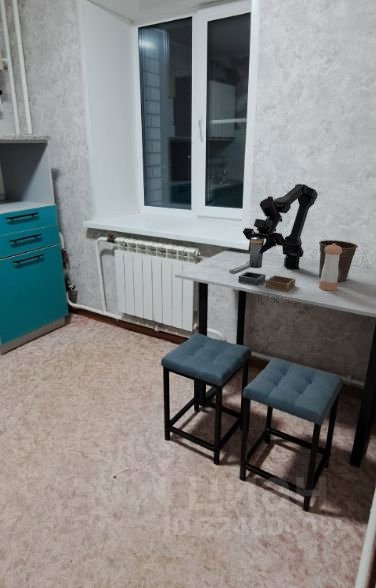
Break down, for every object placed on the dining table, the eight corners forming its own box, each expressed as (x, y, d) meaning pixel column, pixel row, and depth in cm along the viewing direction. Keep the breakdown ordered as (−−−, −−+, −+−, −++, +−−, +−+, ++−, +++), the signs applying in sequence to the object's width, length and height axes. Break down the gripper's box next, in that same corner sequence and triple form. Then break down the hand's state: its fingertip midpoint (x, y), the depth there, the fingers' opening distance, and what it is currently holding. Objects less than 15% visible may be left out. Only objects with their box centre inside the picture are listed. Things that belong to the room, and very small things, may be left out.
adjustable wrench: (232, 275, 187) (233, 271, 186) (222, 272, 191) (222, 268, 190) (262, 264, 204) (262, 261, 203) (252, 262, 208) (252, 259, 207)
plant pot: (354, 277, 185) (360, 242, 180) (348, 286, 172) (354, 249, 167) (319, 271, 193) (323, 238, 188) (310, 279, 180) (315, 244, 175)
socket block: (246, 276, 183) (247, 271, 182) (265, 280, 178) (265, 274, 177) (238, 281, 175) (238, 276, 174) (257, 285, 171) (257, 279, 170)
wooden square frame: (273, 281, 176) (274, 275, 175) (294, 285, 171) (295, 278, 170) (265, 287, 168) (265, 280, 167) (287, 291, 164) (288, 284, 163)
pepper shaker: (315, 287, 169) (321, 243, 163) (323, 284, 174) (330, 241, 168) (331, 292, 164) (338, 246, 158) (339, 288, 169) (346, 244, 163)
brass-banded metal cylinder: (260, 264, 177) (262, 236, 172) (263, 268, 171) (265, 239, 167) (247, 264, 176) (249, 236, 172) (250, 268, 171) (252, 239, 167)
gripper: (246, 209, 174) (229, 237, 171) (284, 214, 163) (267, 244, 159) (255, 225, 183) (239, 252, 179) (291, 230, 171) (276, 260, 167)
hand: (254, 252), depth 171 cm, fingers closed on brass-banded metal cylinder, 5 cm apart
